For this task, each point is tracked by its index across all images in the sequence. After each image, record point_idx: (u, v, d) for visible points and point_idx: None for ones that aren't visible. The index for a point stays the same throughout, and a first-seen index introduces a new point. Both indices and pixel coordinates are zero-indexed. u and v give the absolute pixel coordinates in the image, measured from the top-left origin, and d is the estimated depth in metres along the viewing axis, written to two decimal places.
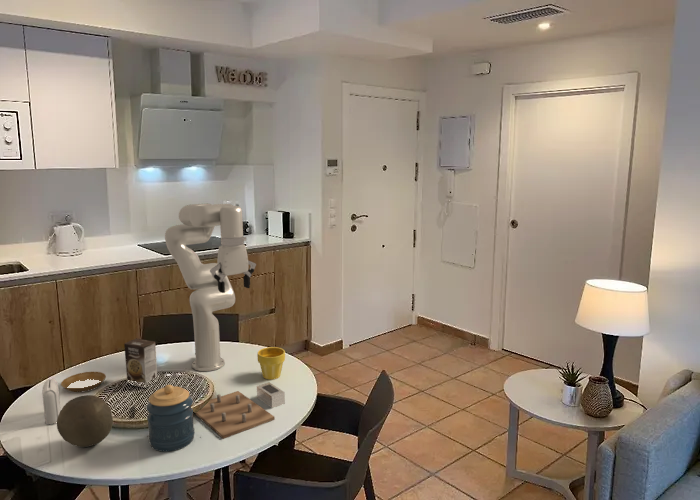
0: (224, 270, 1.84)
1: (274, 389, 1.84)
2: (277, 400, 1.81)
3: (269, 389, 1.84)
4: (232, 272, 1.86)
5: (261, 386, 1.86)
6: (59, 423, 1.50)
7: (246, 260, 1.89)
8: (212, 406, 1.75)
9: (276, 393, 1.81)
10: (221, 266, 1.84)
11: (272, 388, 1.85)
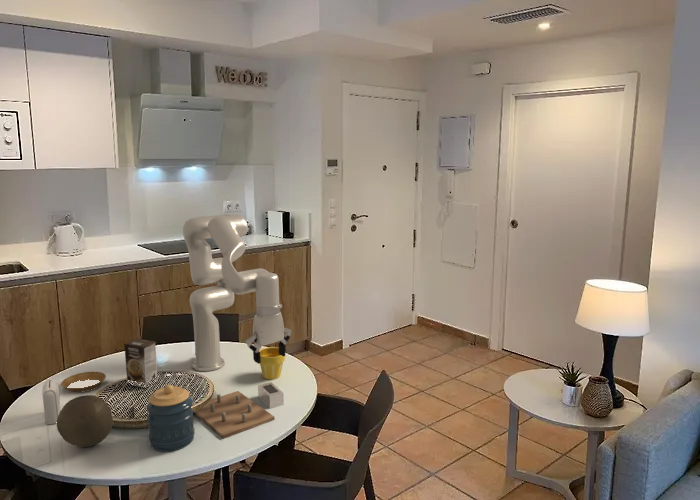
0: (260, 340, 1.76)
1: (274, 389, 1.84)
2: (275, 400, 1.81)
3: (269, 389, 1.84)
4: (268, 342, 1.78)
5: (262, 385, 1.87)
6: (59, 423, 1.50)
7: (282, 328, 1.81)
8: (212, 406, 1.75)
9: (275, 393, 1.81)
10: (257, 336, 1.77)
11: (272, 388, 1.84)
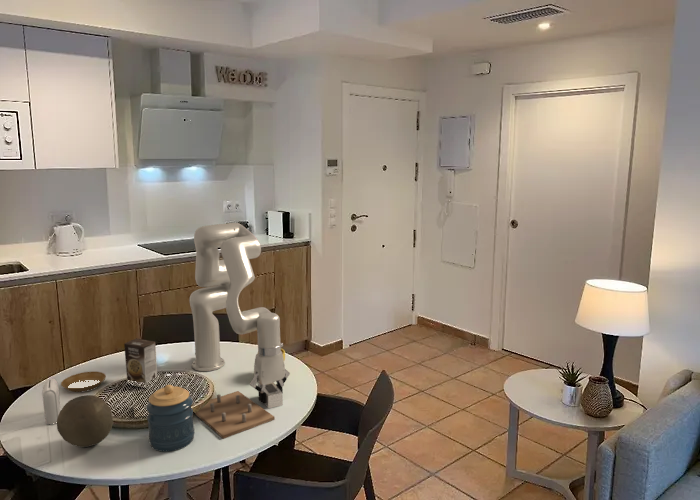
0: (261, 380, 1.79)
1: (273, 389, 1.83)
2: (274, 400, 1.80)
3: (269, 388, 1.84)
4: (269, 381, 1.81)
5: None
6: (59, 423, 1.50)
7: (283, 367, 1.84)
8: (212, 406, 1.75)
9: (274, 393, 1.81)
10: (258, 376, 1.79)
11: (272, 388, 1.84)
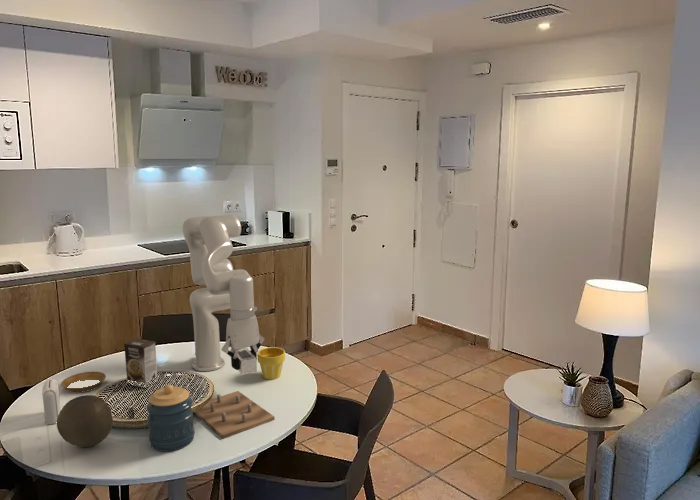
0: (234, 345, 1.70)
1: (247, 355, 1.75)
2: (248, 366, 1.72)
3: (242, 354, 1.75)
4: (242, 346, 1.72)
5: None
6: (59, 423, 1.50)
7: (257, 332, 1.75)
8: (212, 406, 1.75)
9: (247, 358, 1.72)
10: (231, 340, 1.70)
11: (246, 353, 1.76)
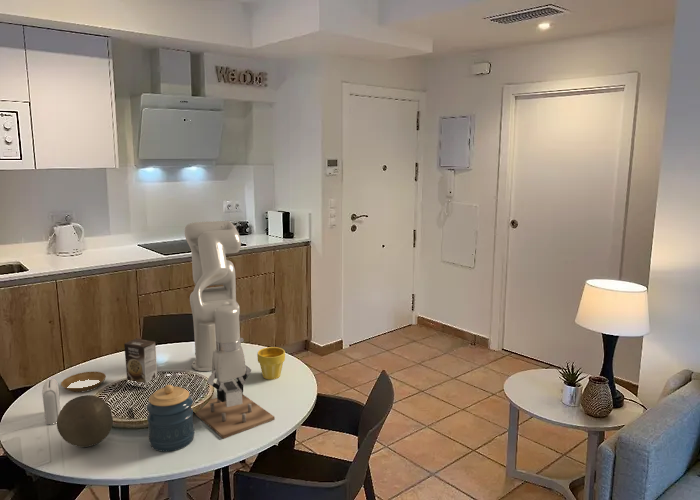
0: (219, 377, 1.69)
1: (233, 386, 1.73)
2: (233, 398, 1.70)
3: (228, 386, 1.73)
4: (228, 378, 1.71)
5: None
6: (59, 423, 1.50)
7: (243, 363, 1.74)
8: (212, 406, 1.75)
9: (233, 391, 1.70)
10: (216, 373, 1.69)
11: (232, 385, 1.74)
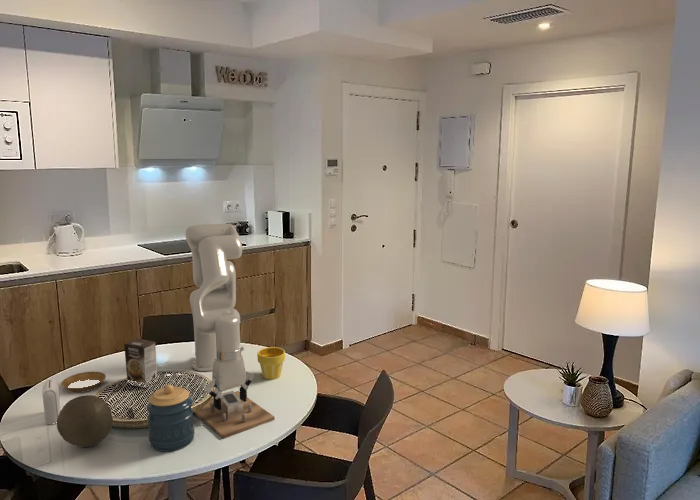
0: (219, 386, 1.69)
1: (234, 399, 1.74)
2: (234, 411, 1.71)
3: (229, 398, 1.74)
4: (228, 387, 1.71)
5: (223, 394, 1.77)
6: (59, 423, 1.50)
7: (243, 372, 1.74)
8: (212, 406, 1.75)
9: (234, 403, 1.71)
10: (216, 382, 1.69)
11: (232, 398, 1.75)
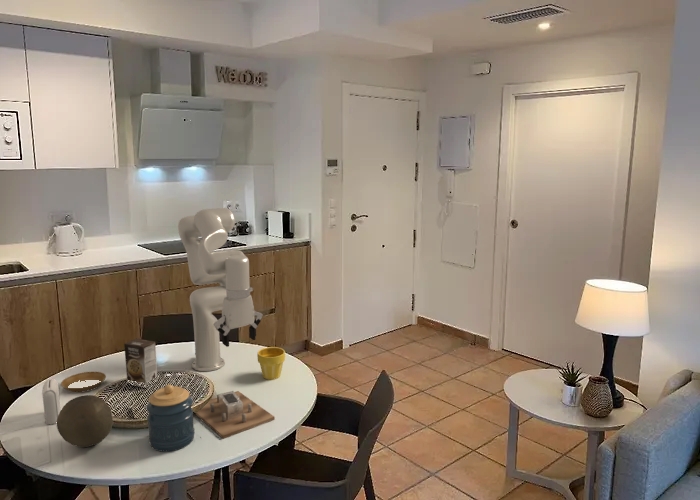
0: (229, 324, 1.74)
1: (234, 399, 1.74)
2: (234, 411, 1.71)
3: (229, 398, 1.74)
4: (237, 325, 1.76)
5: (223, 394, 1.77)
6: (59, 423, 1.50)
7: (252, 312, 1.79)
8: (212, 406, 1.75)
9: (234, 403, 1.71)
10: (226, 319, 1.74)
11: (232, 398, 1.75)
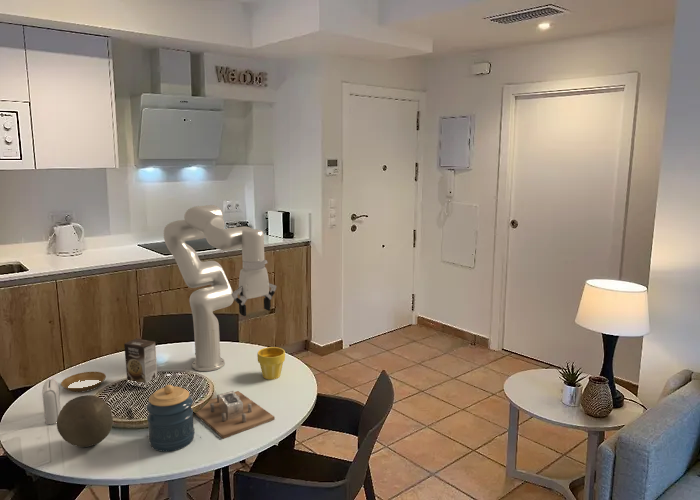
0: (246, 294, 1.84)
1: (234, 399, 1.74)
2: (234, 411, 1.71)
3: (229, 398, 1.74)
4: (253, 295, 1.86)
5: (223, 394, 1.77)
6: (59, 423, 1.50)
7: (267, 283, 1.89)
8: (212, 406, 1.75)
9: (234, 403, 1.71)
10: (243, 289, 1.84)
11: (232, 398, 1.75)
